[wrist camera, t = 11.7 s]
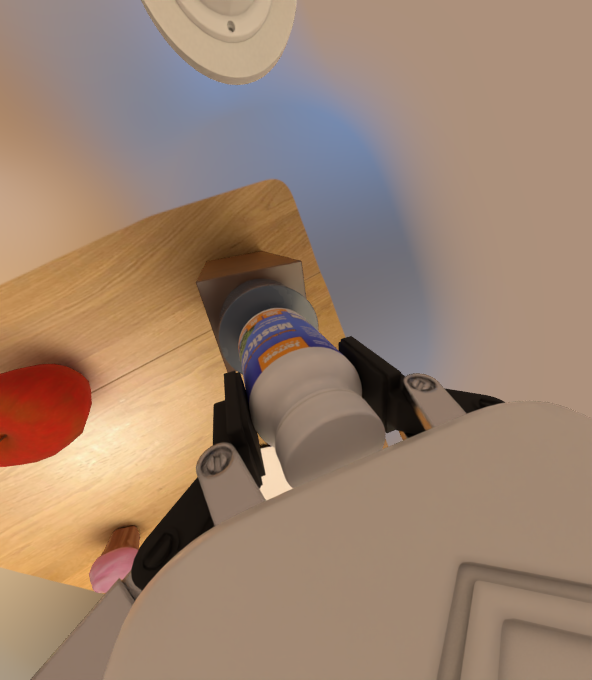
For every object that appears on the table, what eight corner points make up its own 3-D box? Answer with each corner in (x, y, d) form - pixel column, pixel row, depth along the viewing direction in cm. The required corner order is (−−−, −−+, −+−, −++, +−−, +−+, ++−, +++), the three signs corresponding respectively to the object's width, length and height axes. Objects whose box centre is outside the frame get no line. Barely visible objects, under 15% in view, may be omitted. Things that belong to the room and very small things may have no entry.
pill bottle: (267, 290, 14) (339, 362, 6) (323, 331, 17) (427, 422, 9) (221, 354, 15) (226, 498, 7) (281, 384, 18) (338, 515, 9)
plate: (194, 501, 55) (193, 506, 53) (258, 429, 52) (259, 433, 51) (270, 515, 67) (271, 520, 66) (325, 458, 64) (327, 462, 63)
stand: (206, 261, 35) (195, 282, 18) (261, 250, 37) (301, 260, 19) (223, 314, 39) (228, 374, 22) (272, 302, 41) (313, 348, 24)
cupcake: (100, 526, 49) (74, 587, 40) (145, 514, 52) (131, 569, 43) (110, 548, 52) (88, 609, 44) (152, 536, 55) (140, 591, 46)
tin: (205, 288, 18) (203, 299, 14) (296, 269, 20) (312, 275, 16) (232, 367, 21) (235, 391, 18) (307, 345, 23) (322, 364, 20)
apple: (3, 402, 34) (-117, 494, 22) (16, 335, 31) (-113, 396, 19) (102, 416, 39) (50, 495, 27) (120, 360, 37) (71, 419, 24)
